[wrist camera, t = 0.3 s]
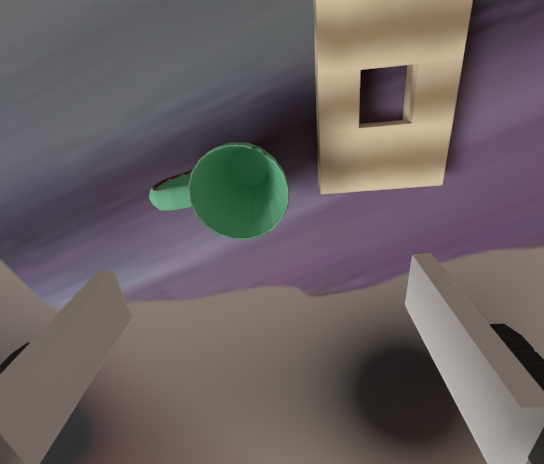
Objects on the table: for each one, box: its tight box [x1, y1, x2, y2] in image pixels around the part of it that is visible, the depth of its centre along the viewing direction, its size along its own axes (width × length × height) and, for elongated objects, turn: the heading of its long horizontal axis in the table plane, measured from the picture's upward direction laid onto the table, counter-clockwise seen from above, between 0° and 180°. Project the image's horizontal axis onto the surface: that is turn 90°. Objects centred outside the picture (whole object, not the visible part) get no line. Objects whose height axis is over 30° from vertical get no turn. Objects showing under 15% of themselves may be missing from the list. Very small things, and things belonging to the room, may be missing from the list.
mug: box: [149, 142, 289, 240], centre depth 34 cm, size 15×10×10 cm
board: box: [313, 0, 473, 194], centre depth 33 cm, size 20×14×3 cm
